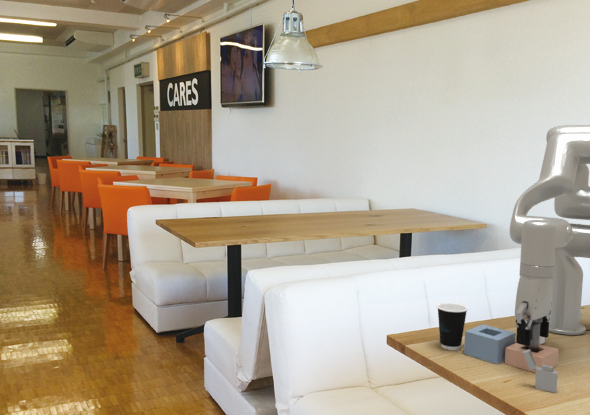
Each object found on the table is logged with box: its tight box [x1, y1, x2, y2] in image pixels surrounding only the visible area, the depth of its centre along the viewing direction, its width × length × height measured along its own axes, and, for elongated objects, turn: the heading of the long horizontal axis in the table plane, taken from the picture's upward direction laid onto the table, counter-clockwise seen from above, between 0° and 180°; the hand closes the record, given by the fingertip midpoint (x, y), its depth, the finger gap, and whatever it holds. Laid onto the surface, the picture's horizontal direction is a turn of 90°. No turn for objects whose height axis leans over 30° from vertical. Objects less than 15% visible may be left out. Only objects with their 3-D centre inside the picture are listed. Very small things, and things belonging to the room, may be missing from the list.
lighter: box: [523, 349, 559, 394], centre depth 119 cm, size 7×2×8 cm, turn 56°
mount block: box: [504, 342, 560, 374], centre depth 132 cm, size 9×9×4 cm
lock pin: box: [525, 315, 543, 353], centre depth 132 cm, size 4×4×12 cm
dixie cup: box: [436, 302, 469, 351], centre depth 143 cm, size 8×8×11 cm
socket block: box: [463, 324, 517, 365], centre depth 138 cm, size 9×9×6 cm
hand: (532, 340), depth 132 cm, fingers open, 9 cm apart
